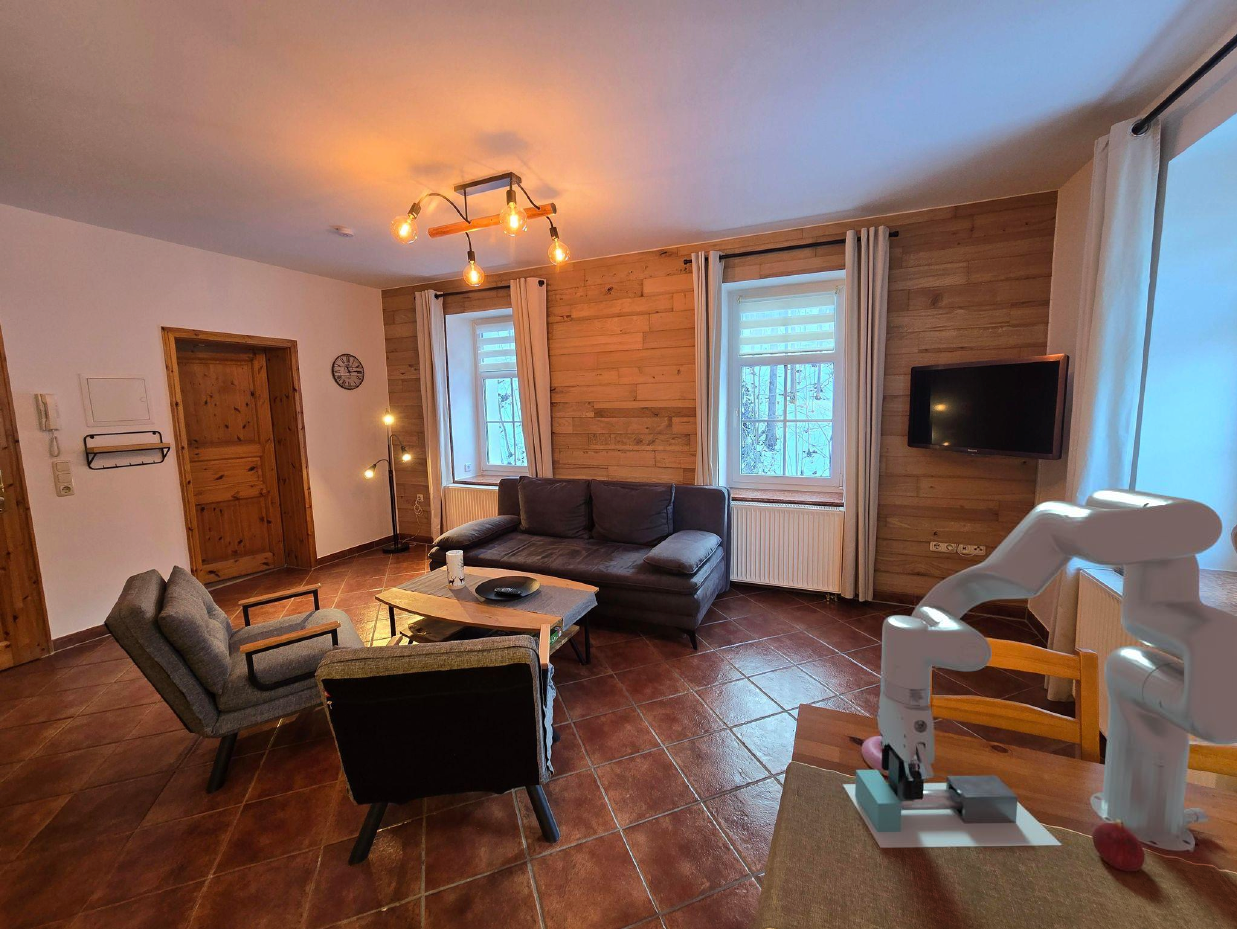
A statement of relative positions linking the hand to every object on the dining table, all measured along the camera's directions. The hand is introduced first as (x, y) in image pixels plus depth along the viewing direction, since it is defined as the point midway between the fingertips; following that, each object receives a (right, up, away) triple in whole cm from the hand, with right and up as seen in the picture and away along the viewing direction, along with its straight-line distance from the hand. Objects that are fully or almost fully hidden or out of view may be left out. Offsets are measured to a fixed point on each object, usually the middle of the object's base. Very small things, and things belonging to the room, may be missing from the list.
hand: (901, 782), depth 88 cm
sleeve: (+14, -6, 0) cm, 15 cm away
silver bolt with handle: (+5, -5, 0) cm, 7 cm away
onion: (+29, -8, -10) cm, 31 cm away
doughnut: (+6, -6, +14) cm, 16 cm away
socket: (-4, -6, +1) cm, 7 cm away
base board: (+8, -7, +1) cm, 11 cm away
